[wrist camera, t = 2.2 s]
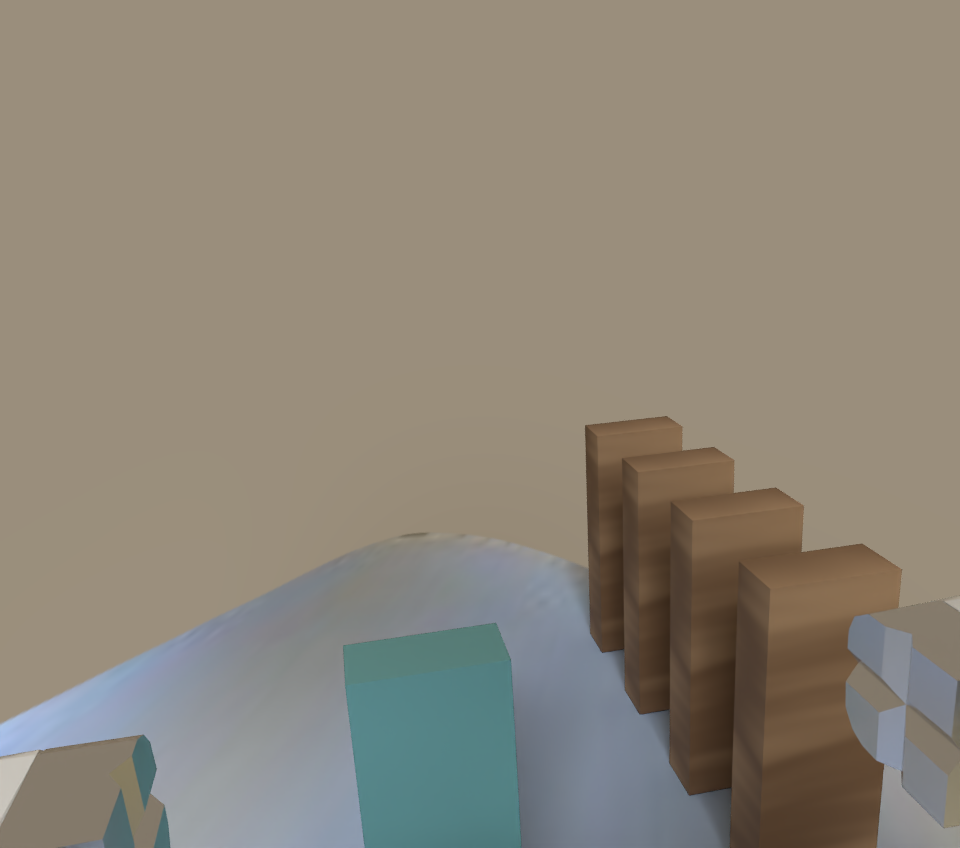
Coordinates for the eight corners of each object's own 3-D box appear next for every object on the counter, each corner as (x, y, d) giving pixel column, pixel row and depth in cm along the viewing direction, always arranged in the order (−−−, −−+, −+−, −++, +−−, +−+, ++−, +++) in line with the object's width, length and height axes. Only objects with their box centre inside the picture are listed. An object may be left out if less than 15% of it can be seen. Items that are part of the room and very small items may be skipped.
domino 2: (680, 640, 45) (682, 426, 41) (602, 652, 44) (597, 436, 41) (666, 621, 47) (666, 416, 43) (590, 633, 46) (584, 425, 43)
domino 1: (530, 1002, 26) (511, 659, 22) (387, 1034, 25) (344, 685, 22) (515, 946, 28) (496, 623, 24) (382, 974, 27) (343, 645, 24)
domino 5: (873, 881, 29) (901, 569, 26) (756, 906, 29) (770, 589, 25) (839, 839, 31) (862, 543, 28) (729, 861, 30) (738, 560, 27)
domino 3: (727, 699, 40) (734, 460, 36) (639, 714, 39) (638, 472, 36) (709, 676, 42) (713, 447, 38) (624, 690, 41) (622, 457, 37)
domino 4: (789, 776, 34) (803, 505, 31) (689, 795, 34) (692, 520, 30) (764, 745, 36) (776, 487, 33) (669, 763, 36) (670, 501, 32)
